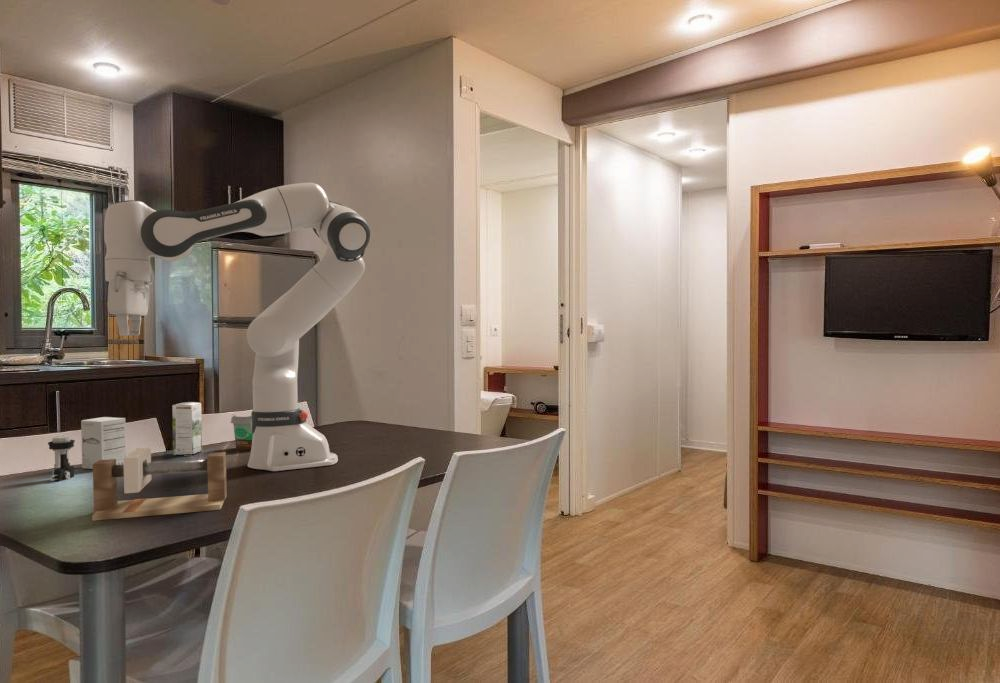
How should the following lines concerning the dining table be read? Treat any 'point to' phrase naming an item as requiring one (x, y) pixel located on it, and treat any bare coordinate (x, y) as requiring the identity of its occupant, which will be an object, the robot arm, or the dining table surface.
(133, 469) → the collar
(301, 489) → the dining table surface
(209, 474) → the rod stand
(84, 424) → the supplement box
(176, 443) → the syrup box
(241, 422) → the food container
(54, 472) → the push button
